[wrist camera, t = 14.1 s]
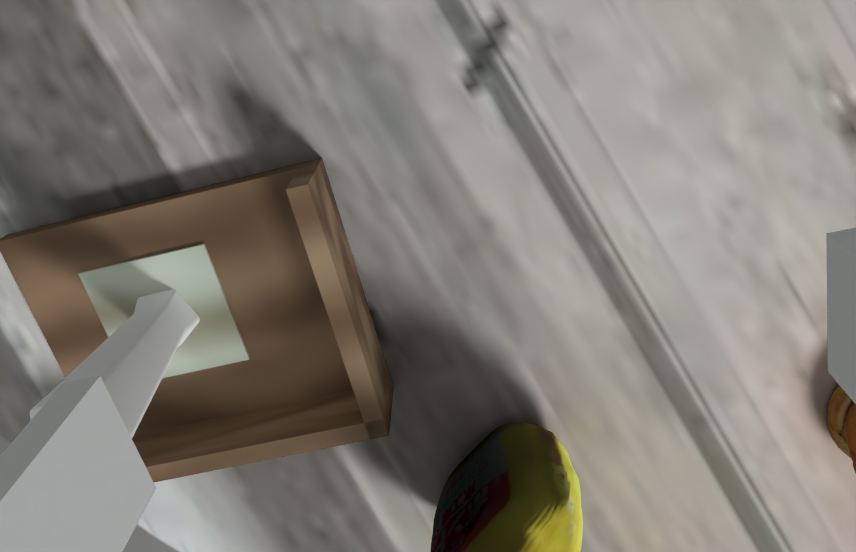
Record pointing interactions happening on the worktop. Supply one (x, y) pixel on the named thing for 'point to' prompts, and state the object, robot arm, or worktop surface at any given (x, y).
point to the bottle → (511, 496)
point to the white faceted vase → (137, 354)
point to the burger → (843, 422)
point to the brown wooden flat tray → (223, 316)
